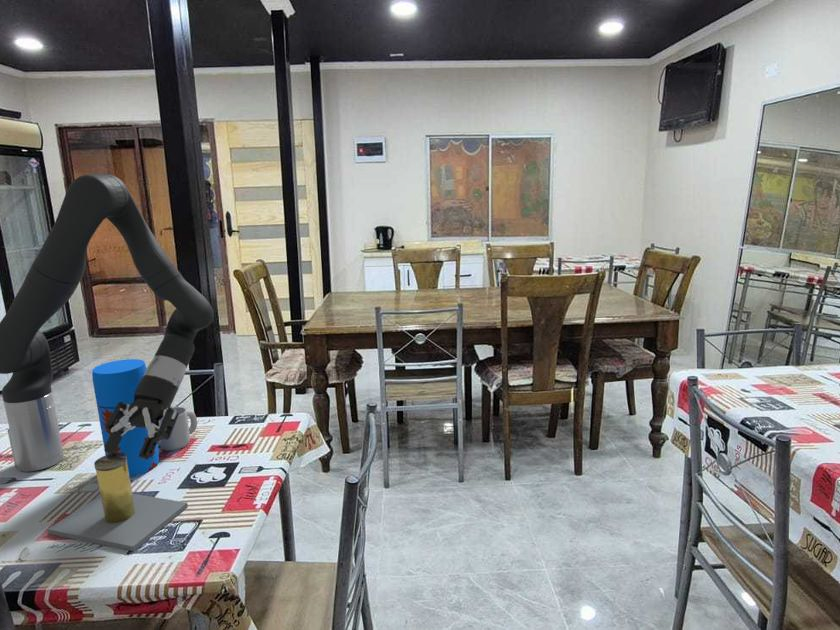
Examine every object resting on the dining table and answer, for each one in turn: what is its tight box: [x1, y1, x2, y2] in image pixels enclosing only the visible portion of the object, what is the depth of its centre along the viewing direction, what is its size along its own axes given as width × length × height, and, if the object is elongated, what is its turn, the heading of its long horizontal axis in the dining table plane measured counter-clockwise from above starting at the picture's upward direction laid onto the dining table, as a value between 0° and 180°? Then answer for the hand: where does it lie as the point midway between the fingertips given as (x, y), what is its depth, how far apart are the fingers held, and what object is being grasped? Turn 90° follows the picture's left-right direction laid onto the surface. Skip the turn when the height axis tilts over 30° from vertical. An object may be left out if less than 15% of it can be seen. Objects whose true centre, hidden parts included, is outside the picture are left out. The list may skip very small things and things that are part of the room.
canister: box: [93, 453, 135, 523], centre depth 101 cm, size 5×5×12 cm
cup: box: [158, 406, 198, 452], centre depth 134 cm, size 7×10×9 cm
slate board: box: [47, 493, 189, 552], centre depth 102 cm, size 20×14×1 cm
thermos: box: [91, 358, 160, 478], centre depth 120 cm, size 11×11×25 cm
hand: (125, 455), depth 103 cm, fingers open, 8 cm apart
